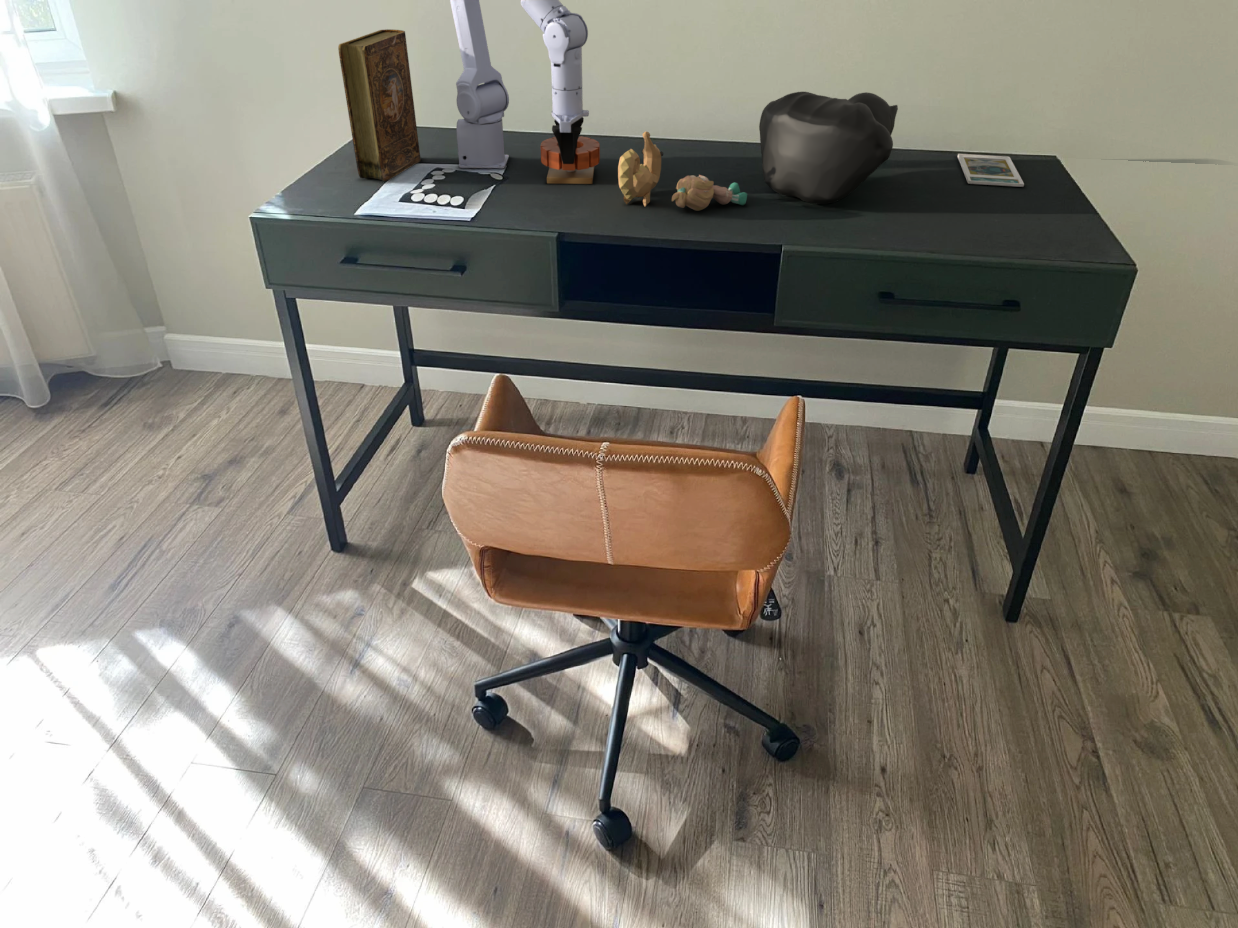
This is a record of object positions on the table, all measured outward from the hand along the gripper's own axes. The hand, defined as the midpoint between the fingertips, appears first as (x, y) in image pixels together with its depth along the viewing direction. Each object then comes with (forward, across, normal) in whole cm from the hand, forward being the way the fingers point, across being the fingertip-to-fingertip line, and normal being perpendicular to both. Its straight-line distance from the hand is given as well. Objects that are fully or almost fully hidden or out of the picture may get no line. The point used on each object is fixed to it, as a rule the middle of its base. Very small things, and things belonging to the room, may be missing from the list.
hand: (569, 160), depth 177 cm
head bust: (+5, 0, -52) cm, 52 cm away
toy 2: (+5, -13, -27) cm, 30 cm away
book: (+5, +7, +37) cm, 38 cm away
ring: (+1, +4, 0) cm, 4 cm away
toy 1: (+5, -10, -14) cm, 18 cm away
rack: (+5, +4, 0) cm, 6 cm away
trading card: (+4, +10, -86) cm, 87 cm away
